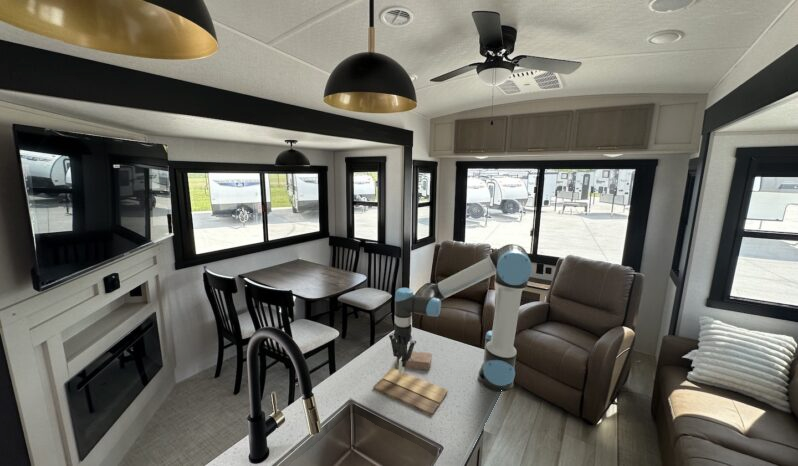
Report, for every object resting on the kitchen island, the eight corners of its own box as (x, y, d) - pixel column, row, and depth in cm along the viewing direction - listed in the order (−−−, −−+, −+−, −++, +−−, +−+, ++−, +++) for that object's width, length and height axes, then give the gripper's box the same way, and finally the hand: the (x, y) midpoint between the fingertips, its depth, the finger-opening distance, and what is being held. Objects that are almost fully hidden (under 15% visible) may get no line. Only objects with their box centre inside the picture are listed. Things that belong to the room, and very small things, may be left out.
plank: (447, 392, 131) (447, 389, 131) (439, 405, 125) (439, 402, 124) (392, 369, 145) (392, 367, 145) (382, 380, 139) (382, 377, 139)
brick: (396, 366, 149) (396, 357, 149) (399, 356, 158) (399, 348, 157) (430, 371, 146) (430, 362, 146) (431, 361, 155) (432, 352, 154)
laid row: (438, 406, 124) (438, 403, 124) (432, 416, 119) (432, 413, 118) (381, 381, 138) (381, 378, 138) (373, 389, 133) (373, 386, 133)
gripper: (420, 324, 134) (418, 372, 139) (395, 316, 141) (393, 362, 145) (411, 331, 128) (409, 381, 132) (385, 322, 135) (384, 371, 139)
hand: (401, 371), depth 139 cm, fingers closed
